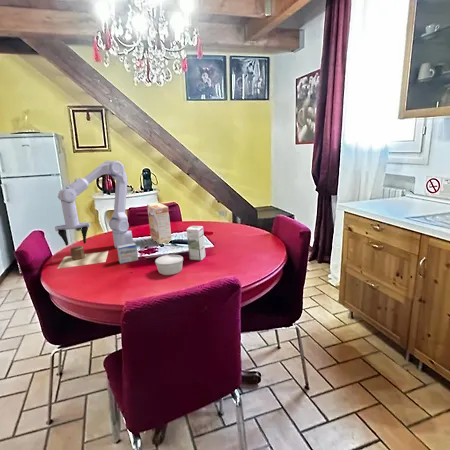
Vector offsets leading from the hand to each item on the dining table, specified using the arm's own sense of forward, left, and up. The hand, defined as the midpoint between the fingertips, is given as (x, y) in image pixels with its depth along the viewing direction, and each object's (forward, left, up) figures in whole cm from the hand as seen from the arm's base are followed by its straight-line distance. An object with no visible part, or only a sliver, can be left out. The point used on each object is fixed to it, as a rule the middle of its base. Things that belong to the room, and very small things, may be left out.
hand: (76, 243), depth 154 cm
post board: (-3, +3, -8) cm, 9 cm away
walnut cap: (0, 0, -7) cm, 7 cm away
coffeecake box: (-39, -16, -9) cm, 43 cm away
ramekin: (-40, +29, -9) cm, 50 cm away
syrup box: (-53, +19, -9) cm, 57 cm away
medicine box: (-23, +13, -9) cm, 28 cm away
